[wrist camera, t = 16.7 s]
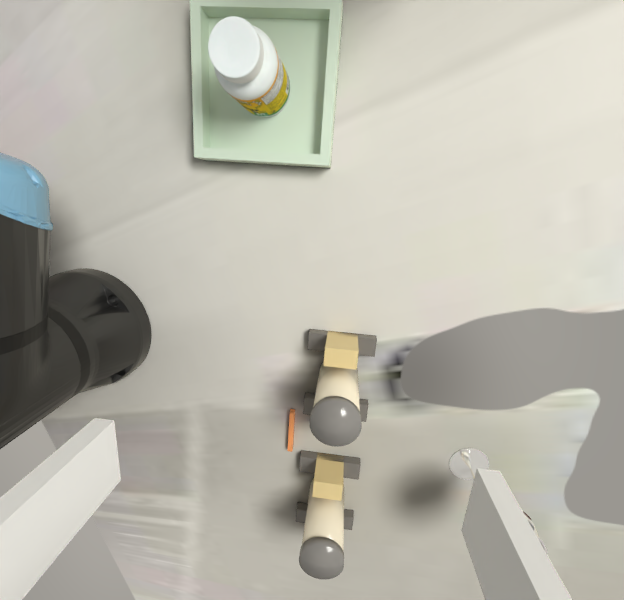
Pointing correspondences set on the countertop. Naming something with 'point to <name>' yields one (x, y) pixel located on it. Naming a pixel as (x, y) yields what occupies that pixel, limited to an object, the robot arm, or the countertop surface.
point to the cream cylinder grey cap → (336, 406)
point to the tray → (302, 73)
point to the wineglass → (465, 468)
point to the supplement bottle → (249, 66)
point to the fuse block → (325, 466)
